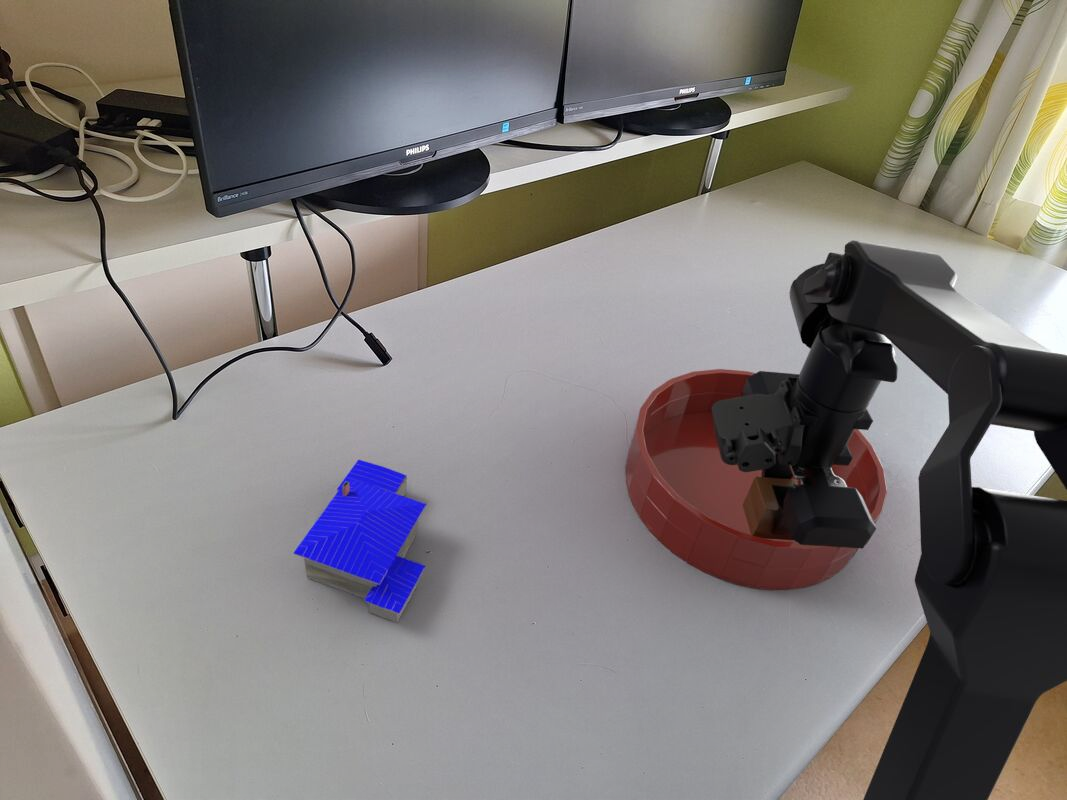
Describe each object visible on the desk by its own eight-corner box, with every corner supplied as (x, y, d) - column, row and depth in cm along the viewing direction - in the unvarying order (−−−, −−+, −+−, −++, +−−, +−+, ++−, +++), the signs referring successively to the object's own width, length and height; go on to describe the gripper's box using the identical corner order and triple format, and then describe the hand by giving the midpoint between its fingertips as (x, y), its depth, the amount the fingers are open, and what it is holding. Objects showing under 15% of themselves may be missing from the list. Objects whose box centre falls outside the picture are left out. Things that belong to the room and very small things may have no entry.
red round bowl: (910, 534, 80) (938, 493, 76) (733, 631, 69) (755, 589, 64) (746, 389, 96) (762, 348, 91) (579, 448, 84) (589, 405, 80)
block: (782, 507, 73) (796, 479, 71) (793, 540, 70) (808, 512, 68) (742, 504, 73) (755, 476, 70) (751, 537, 70) (765, 509, 67)
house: (462, 511, 76) (465, 472, 72) (399, 628, 65) (399, 590, 61) (359, 476, 77) (357, 437, 74) (282, 585, 67) (275, 546, 63)
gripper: (713, 313, 67) (671, 439, 77) (764, 466, 53) (706, 595, 63) (834, 324, 68) (777, 447, 78) (916, 477, 54) (834, 603, 64)
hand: (771, 515), depth 71 cm, fingers closed on block, 4 cm apart
